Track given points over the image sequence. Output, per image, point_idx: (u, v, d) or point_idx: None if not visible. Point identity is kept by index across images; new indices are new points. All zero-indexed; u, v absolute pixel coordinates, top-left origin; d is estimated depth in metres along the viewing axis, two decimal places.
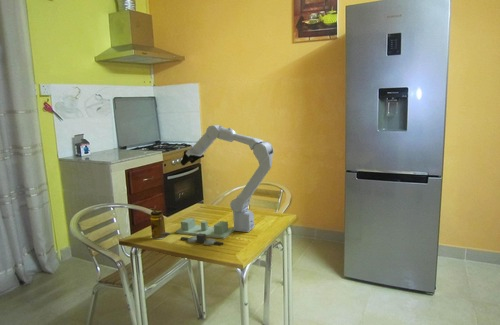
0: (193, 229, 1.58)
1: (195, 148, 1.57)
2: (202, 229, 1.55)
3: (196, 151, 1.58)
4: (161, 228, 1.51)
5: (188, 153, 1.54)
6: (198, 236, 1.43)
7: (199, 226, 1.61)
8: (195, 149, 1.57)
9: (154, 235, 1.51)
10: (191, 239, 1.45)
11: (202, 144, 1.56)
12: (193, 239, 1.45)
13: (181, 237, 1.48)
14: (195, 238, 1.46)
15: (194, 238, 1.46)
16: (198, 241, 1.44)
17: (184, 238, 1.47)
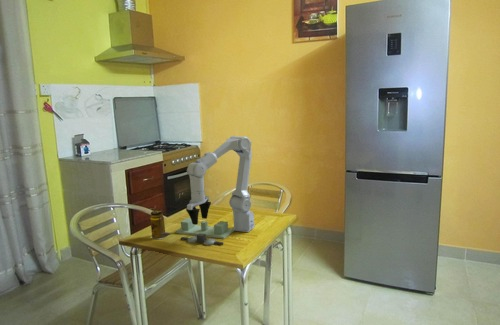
0: (193, 229, 1.58)
1: (193, 199, 1.39)
2: (202, 229, 1.55)
3: (196, 200, 1.39)
4: (161, 228, 1.51)
5: (189, 207, 1.35)
6: (198, 236, 1.43)
7: (199, 226, 1.61)
8: (194, 199, 1.39)
9: (154, 235, 1.51)
10: (191, 239, 1.45)
11: (202, 188, 1.39)
12: (193, 239, 1.45)
13: (181, 237, 1.48)
14: (195, 238, 1.46)
15: (194, 238, 1.46)
16: (198, 241, 1.44)
17: (184, 238, 1.47)
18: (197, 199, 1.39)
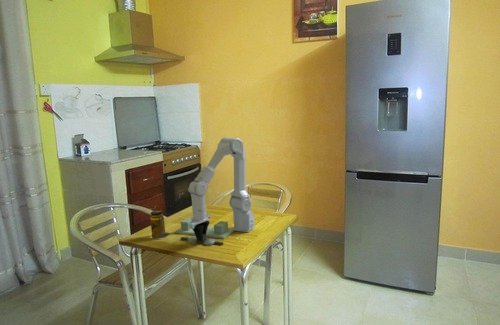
0: None
1: (195, 217, 1.40)
2: None
3: (198, 219, 1.40)
4: (161, 228, 1.51)
5: (191, 225, 1.36)
6: None
7: None
8: (195, 218, 1.40)
9: (154, 235, 1.51)
10: (191, 239, 1.45)
11: (203, 207, 1.40)
12: (193, 239, 1.45)
13: (181, 237, 1.48)
14: (195, 238, 1.46)
15: (194, 238, 1.46)
16: (198, 241, 1.44)
17: (184, 238, 1.47)
18: (198, 217, 1.40)
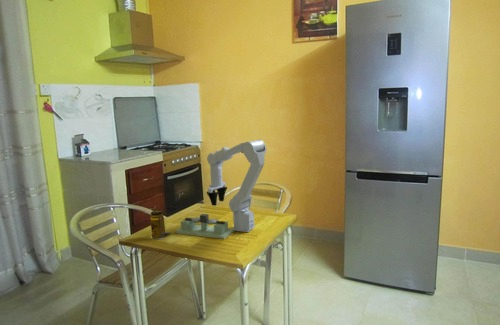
0: (193, 229, 1.58)
1: (213, 183, 1.62)
2: (202, 229, 1.55)
3: (215, 185, 1.62)
4: (161, 228, 1.51)
5: (209, 190, 1.58)
6: (201, 216, 1.54)
7: (199, 226, 1.61)
8: (213, 184, 1.62)
9: (154, 235, 1.51)
10: (195, 219, 1.56)
11: (213, 175, 1.61)
12: (197, 219, 1.56)
13: (185, 218, 1.59)
14: (198, 218, 1.57)
15: (197, 218, 1.57)
16: (201, 220, 1.55)
17: (188, 218, 1.58)
18: (216, 184, 1.62)
